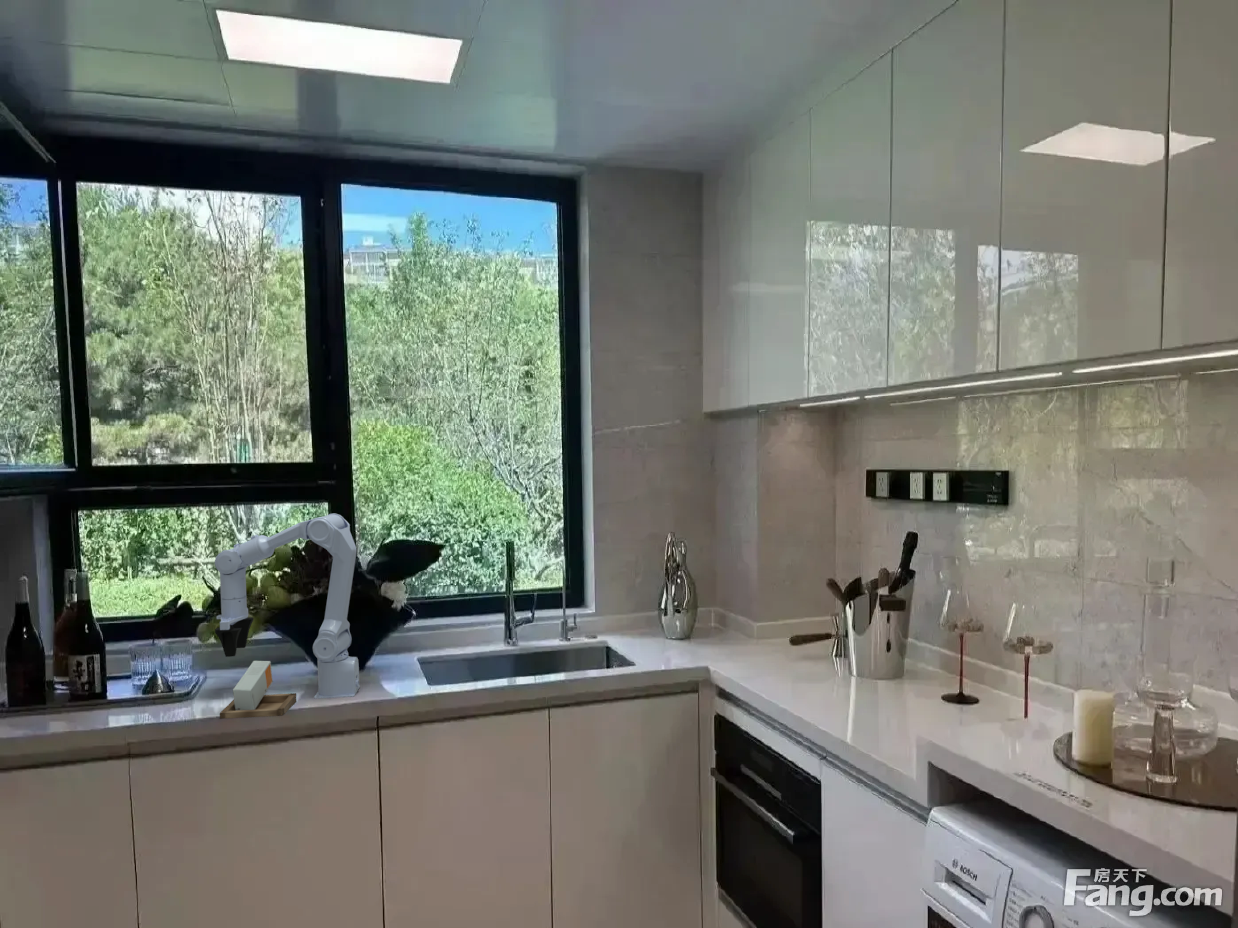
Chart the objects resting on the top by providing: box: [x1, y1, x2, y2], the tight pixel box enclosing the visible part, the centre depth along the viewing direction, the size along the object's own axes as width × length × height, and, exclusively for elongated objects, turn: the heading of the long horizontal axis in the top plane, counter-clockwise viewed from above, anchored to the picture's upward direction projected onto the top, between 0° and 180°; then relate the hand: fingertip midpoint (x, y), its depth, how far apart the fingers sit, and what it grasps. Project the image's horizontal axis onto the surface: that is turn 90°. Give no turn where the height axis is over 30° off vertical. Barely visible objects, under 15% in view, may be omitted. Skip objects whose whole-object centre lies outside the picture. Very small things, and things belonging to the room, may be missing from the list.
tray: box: [219, 692, 297, 720], centre depth 188 cm, size 13×11×2 cm
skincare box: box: [232, 660, 274, 711], centre depth 191 cm, size 6×4×12 cm
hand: (235, 651), depth 202 cm, fingers open, 7 cm apart
